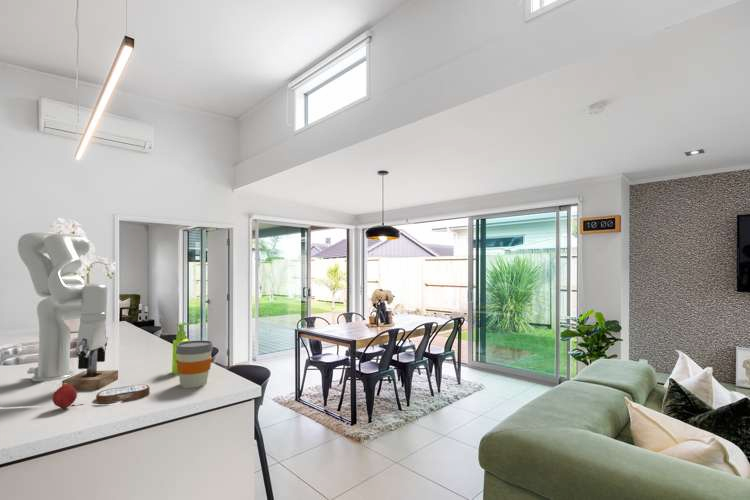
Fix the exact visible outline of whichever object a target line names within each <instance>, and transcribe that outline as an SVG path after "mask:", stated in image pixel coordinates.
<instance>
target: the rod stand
mask: <svg viewBox="0 0 750 500" xmlns="http://www.w3.org/2000/svg"><path fill="white" fill-rule="evenodd" d="M86 373H87V370H84V371H81V372H79V373H76V374H75V375H74V374H73V375H72V376H69V377H66V378H64V379H63V380H62V384H63V383H67V384H68V385H70V386H72V387H74V388H75V390H76V391H89V390H90V391H95V390H101V389H104V388H105V387H107V386H109V385H111V384H112V383H114V382H116V381H118V380H119V370H118V369H117V370H116V369H115V370H97V376H96V377H86ZM62 384H61V385H62Z"/></svg>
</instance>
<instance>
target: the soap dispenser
mask: <svg viewBox="0 0 750 500" xmlns="http://www.w3.org/2000/svg"><path fill="white" fill-rule="evenodd" d="M185 325H191V323H189V322H180V323H178V324H176V326H178V331H176V339H173V340H172V363H171V365H172V366H171V369H172V370H171V371H172V372H171V373H172V374H173V375H179V373H178V370H177V353H176V349H177V344H179V343H182V342H188V341H189V340H190V339H189V338H186V334H187V333H186V330H184V329H185V328H184V326H185Z"/></svg>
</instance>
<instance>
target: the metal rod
mask: <svg viewBox="0 0 750 500" xmlns="http://www.w3.org/2000/svg"><path fill="white" fill-rule="evenodd" d="M97 353H98V349H95V350H92V351H90V353H89V355H88V357H89V368H88V369H86V371H87V373H86V377H96V376H97V371H98V362H97Z"/></svg>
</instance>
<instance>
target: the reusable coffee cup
mask: <svg viewBox="0 0 750 500" xmlns="http://www.w3.org/2000/svg"><path fill="white" fill-rule="evenodd" d="M213 350H214V348H213V342H212V341H211V340H203V339H202V340H200V339H198V340H190V341H188V342H182V343H179V344H177V349H176V353H177V370H178V373H179V374H178V375H179V385H180V387H182V388H187V389H188V388H189V389H193V388H198V387H202V386H204V385H206V384H207V383H208V378H209V377H208V376H209V372H210V369H211V366H212V361H213V360H212V359H213V357H212V352H213Z"/></svg>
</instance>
